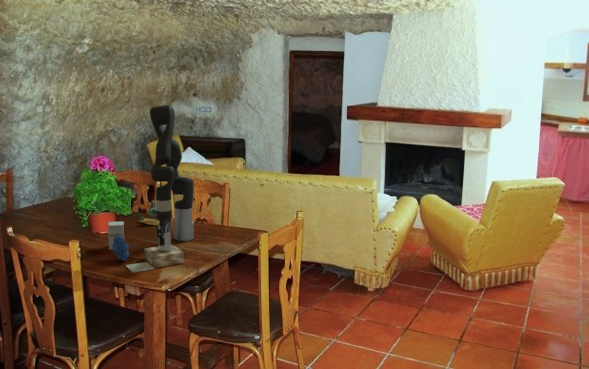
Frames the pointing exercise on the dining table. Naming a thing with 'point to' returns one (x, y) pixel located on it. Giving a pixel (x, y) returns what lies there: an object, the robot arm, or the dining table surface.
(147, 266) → the mat
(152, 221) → the frog figurine
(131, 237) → the dining table surface
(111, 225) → the supplement box
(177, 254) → the holder
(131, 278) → the dining table surface
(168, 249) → the peg
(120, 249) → the grapes
